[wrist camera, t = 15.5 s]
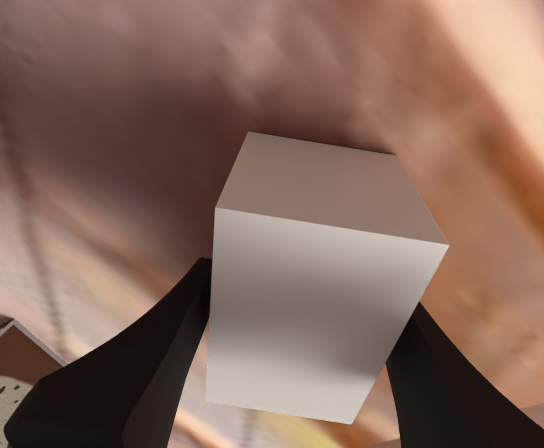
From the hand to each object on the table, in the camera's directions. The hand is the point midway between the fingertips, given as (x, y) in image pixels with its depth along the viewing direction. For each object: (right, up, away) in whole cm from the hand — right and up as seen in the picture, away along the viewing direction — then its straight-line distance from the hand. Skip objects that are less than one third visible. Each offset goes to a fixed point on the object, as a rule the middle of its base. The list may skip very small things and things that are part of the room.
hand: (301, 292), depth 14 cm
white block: (0, +2, +3) cm, 4 cm away
